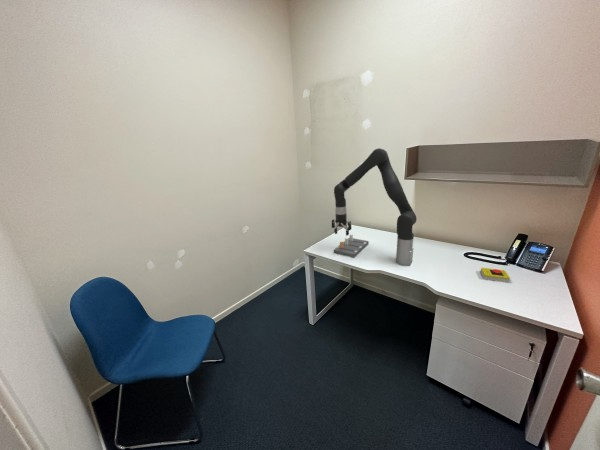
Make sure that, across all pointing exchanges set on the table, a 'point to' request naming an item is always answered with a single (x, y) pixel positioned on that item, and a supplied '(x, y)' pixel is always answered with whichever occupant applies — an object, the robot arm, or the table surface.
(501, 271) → the emergency button
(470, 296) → the table surface
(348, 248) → the panel
